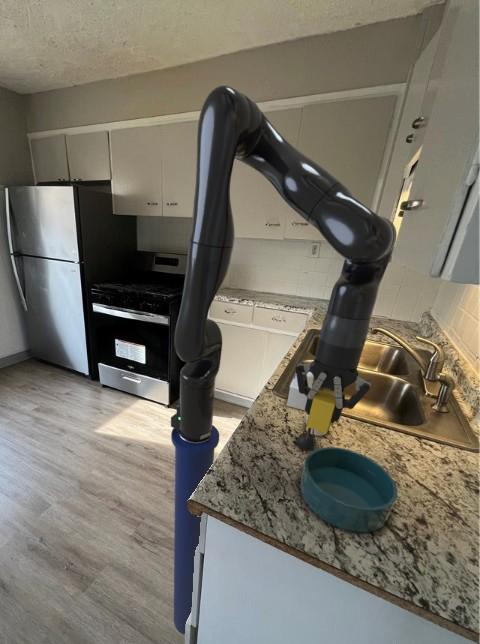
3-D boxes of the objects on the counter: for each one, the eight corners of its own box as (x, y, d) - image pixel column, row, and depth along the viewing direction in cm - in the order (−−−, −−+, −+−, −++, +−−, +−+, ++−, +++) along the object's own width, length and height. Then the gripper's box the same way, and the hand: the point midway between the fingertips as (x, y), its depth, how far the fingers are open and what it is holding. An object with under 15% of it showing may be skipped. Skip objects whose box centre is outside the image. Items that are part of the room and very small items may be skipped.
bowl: (289, 503, 65) (294, 481, 62) (312, 457, 78) (317, 437, 75) (383, 549, 56) (393, 526, 53) (391, 489, 69) (400, 468, 66)
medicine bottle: (290, 396, 105) (296, 363, 100) (312, 401, 102) (319, 368, 97) (285, 406, 99) (292, 372, 94) (309, 412, 96) (317, 377, 91)
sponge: (306, 426, 64) (313, 397, 61) (311, 417, 67) (318, 389, 64) (326, 434, 62) (334, 404, 59) (331, 424, 65) (339, 396, 62)
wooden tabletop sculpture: (311, 437, 85) (327, 370, 76) (322, 447, 81) (340, 379, 72) (292, 440, 83) (306, 373, 75) (303, 452, 79) (319, 382, 71)
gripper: (388, 341, 56) (361, 421, 63) (308, 325, 63) (292, 398, 70) (384, 354, 50) (355, 440, 58) (296, 334, 57) (280, 413, 65)
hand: (320, 416), depth 64 cm, fingers closed on sponge, 4 cm apart
